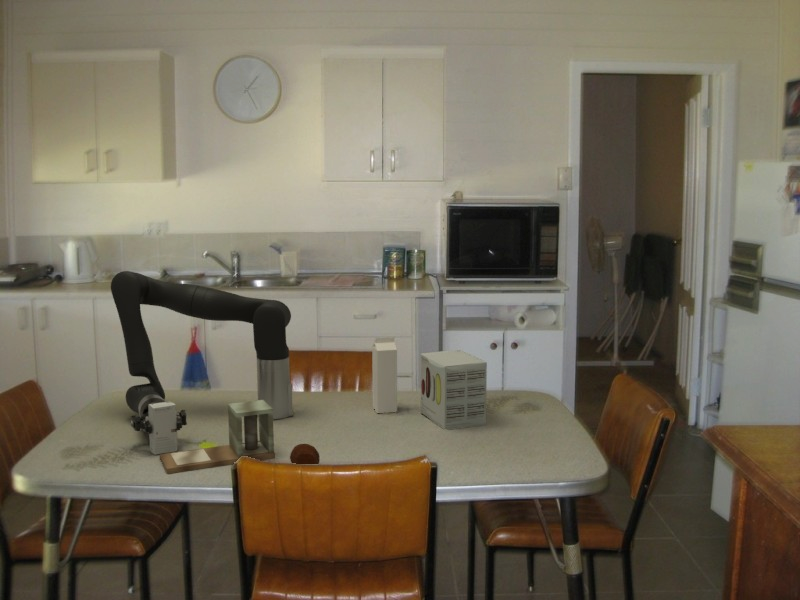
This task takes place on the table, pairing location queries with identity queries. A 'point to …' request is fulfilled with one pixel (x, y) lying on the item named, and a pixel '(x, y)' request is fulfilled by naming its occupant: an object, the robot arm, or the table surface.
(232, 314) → the robot arm
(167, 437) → the skincare box
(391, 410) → the milk
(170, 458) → the board
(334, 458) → the table surface
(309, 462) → the potato
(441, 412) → the supplement box
